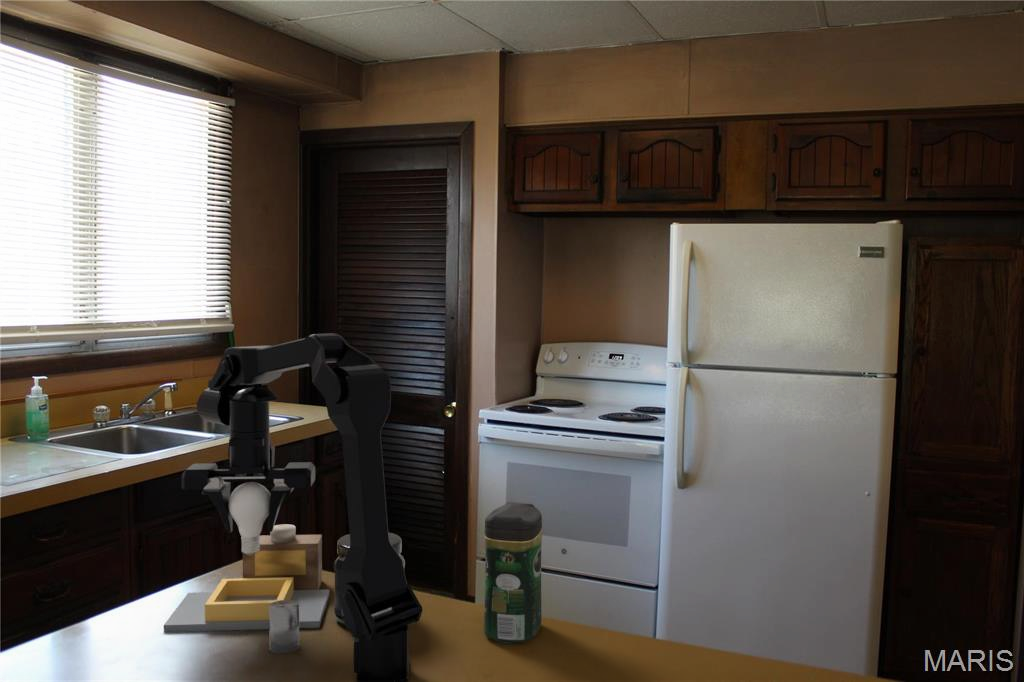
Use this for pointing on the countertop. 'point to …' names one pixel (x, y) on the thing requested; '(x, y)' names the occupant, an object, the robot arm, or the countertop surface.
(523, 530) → the coffee jar
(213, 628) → the board
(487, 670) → the countertop surface
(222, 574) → the countertop surface
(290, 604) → the silver metal cylinder
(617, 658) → the countertop surface
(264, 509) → the lightbulb
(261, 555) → the lamp unit
